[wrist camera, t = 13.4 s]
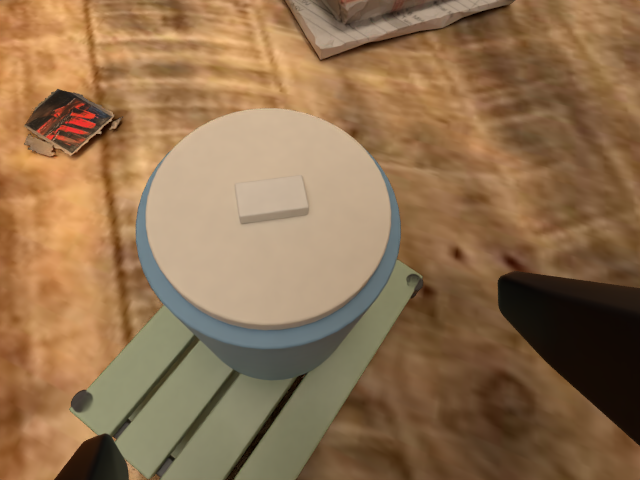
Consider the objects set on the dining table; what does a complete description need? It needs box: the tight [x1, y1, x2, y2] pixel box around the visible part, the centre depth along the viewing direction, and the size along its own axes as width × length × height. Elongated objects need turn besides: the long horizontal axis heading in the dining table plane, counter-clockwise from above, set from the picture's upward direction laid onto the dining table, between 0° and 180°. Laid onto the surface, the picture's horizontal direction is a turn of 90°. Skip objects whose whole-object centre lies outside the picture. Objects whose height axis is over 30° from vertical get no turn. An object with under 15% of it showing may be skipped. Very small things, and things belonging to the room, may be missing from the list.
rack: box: [69, 259, 423, 480], centre depth 19 cm, size 9×13×4 cm
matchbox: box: [24, 89, 123, 156], centre depth 25 cm, size 5×5×1 cm
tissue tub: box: [136, 108, 401, 380], centre depth 14 cm, size 7×7×9 cm
